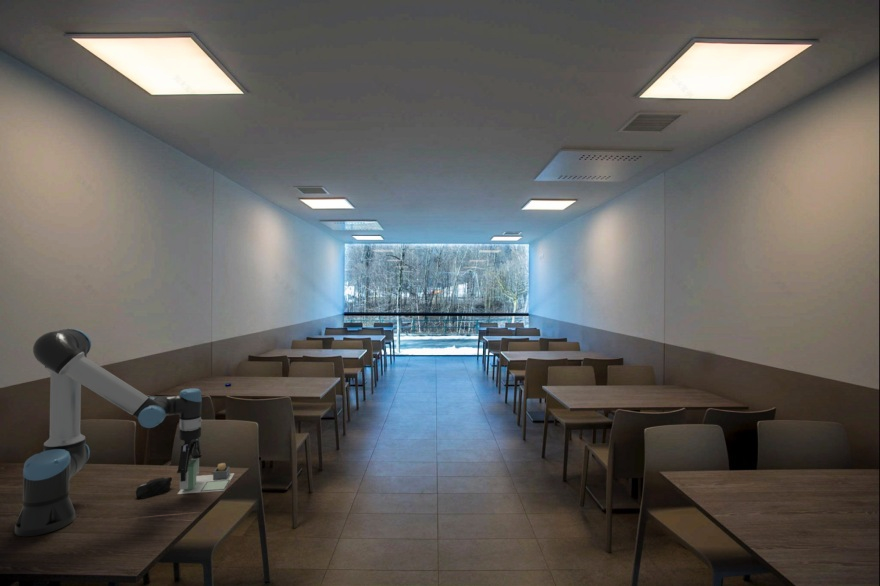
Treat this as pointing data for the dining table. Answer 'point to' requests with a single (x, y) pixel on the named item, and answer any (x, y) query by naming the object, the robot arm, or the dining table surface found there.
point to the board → (208, 484)
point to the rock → (153, 487)
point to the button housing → (221, 474)
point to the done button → (221, 467)
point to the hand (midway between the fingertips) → (189, 481)
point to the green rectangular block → (191, 474)
